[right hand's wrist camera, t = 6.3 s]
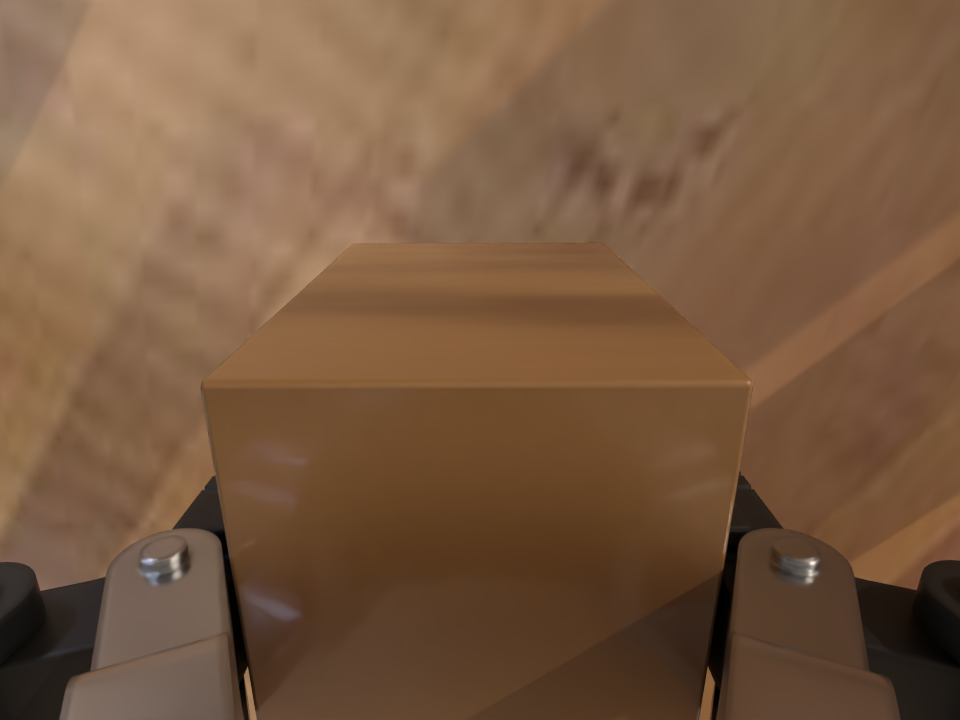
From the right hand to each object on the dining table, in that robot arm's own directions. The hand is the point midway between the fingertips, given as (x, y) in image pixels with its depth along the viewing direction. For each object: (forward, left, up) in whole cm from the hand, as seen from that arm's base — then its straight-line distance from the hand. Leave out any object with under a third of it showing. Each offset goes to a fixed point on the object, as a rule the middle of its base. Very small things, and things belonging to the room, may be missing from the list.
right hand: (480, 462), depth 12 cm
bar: (+8, +2, -4) cm, 10 cm away
